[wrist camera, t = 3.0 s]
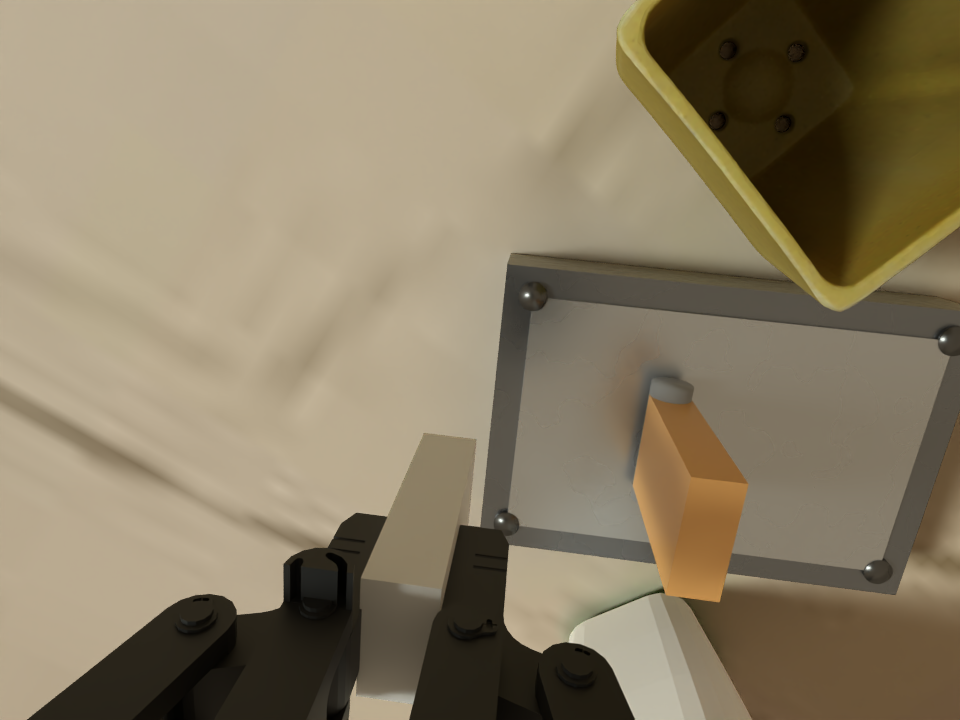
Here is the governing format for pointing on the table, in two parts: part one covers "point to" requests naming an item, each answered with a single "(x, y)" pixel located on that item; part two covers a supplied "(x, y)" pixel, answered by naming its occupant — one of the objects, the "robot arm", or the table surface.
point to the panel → (722, 413)
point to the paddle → (686, 493)
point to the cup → (663, 661)
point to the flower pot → (812, 125)
